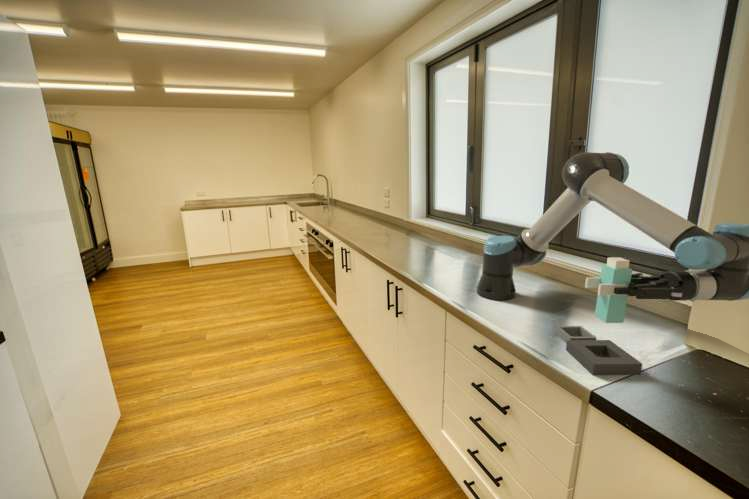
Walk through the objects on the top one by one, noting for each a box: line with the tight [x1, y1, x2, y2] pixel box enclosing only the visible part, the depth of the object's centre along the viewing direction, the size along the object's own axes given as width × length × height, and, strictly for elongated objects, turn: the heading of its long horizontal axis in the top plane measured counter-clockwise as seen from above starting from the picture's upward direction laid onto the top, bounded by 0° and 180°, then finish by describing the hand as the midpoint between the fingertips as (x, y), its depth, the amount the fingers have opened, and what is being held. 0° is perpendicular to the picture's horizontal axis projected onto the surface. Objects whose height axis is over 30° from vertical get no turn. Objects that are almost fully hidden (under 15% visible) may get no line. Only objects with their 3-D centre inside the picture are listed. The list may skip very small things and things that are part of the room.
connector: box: [594, 256, 633, 324], centre depth 86 cm, size 4×4×16 cm
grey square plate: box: [555, 325, 597, 345], centre depth 102 cm, size 8×8×2 cm
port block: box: [565, 339, 643, 376], centre depth 91 cm, size 12×12×3 cm
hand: (592, 286), depth 86 cm, fingers closed on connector, 4 cm apart
